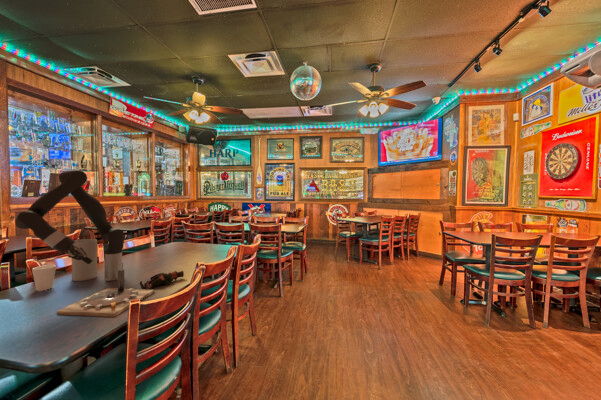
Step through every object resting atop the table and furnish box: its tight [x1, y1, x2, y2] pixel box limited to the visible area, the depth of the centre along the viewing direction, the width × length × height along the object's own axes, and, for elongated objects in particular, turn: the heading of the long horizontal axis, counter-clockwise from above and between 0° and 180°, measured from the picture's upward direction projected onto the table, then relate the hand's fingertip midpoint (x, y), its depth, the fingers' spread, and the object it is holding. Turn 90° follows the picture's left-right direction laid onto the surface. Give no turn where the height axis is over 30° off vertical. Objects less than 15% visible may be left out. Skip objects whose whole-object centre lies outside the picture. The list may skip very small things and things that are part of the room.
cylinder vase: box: [71, 238, 98, 282], centre depth 160 cm, size 12×12×25 cm
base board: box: [56, 287, 155, 318], centre depth 126 cm, size 28×28×3 cm
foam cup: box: [31, 264, 57, 292], centre depth 142 cm, size 10×9×13 cm
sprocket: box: [80, 269, 138, 310], centre depth 126 cm, size 24×24×12 cm
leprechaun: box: [139, 270, 185, 290], centre depth 153 cm, size 11×10×25 cm
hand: (90, 262), depth 129 cm, fingers closed
